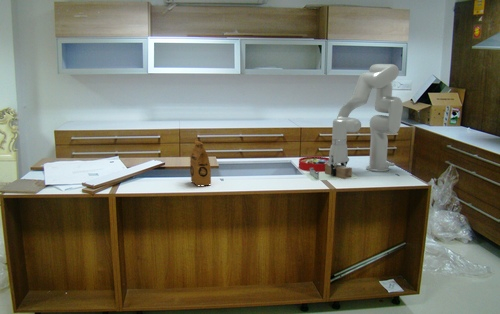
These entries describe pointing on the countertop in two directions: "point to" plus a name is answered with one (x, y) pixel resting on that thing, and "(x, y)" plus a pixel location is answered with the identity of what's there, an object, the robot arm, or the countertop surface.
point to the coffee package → (200, 165)
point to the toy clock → (313, 163)
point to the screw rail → (314, 173)
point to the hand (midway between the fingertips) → (338, 174)
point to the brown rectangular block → (339, 171)
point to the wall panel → (327, 176)
